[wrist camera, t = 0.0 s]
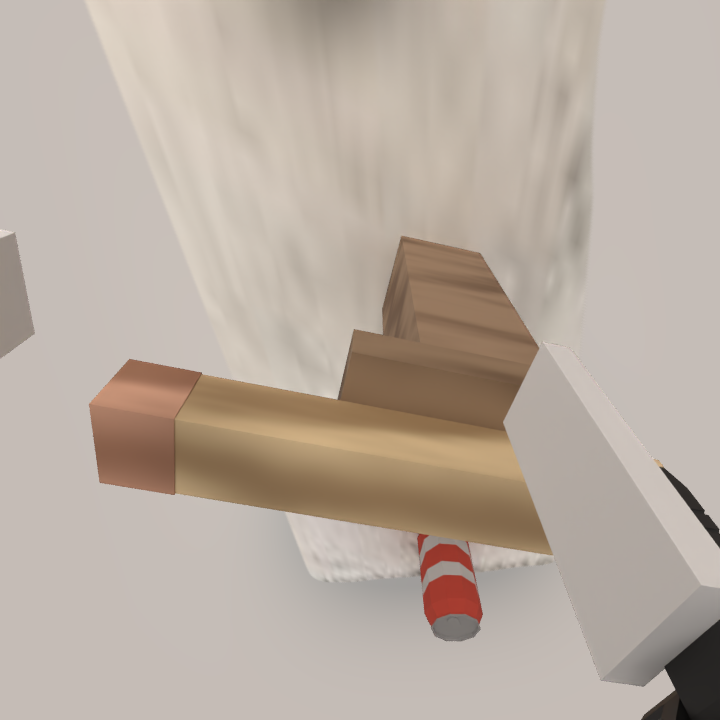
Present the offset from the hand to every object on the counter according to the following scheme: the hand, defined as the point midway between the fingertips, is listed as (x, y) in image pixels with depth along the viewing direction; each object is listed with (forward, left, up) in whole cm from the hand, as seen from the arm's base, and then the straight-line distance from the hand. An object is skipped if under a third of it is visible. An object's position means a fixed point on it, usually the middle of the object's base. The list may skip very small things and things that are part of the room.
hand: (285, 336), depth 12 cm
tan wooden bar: (+8, +5, -6) cm, 11 cm away
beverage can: (+41, +21, -28) cm, 54 cm away
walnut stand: (+8, +8, -28) cm, 30 cm away
